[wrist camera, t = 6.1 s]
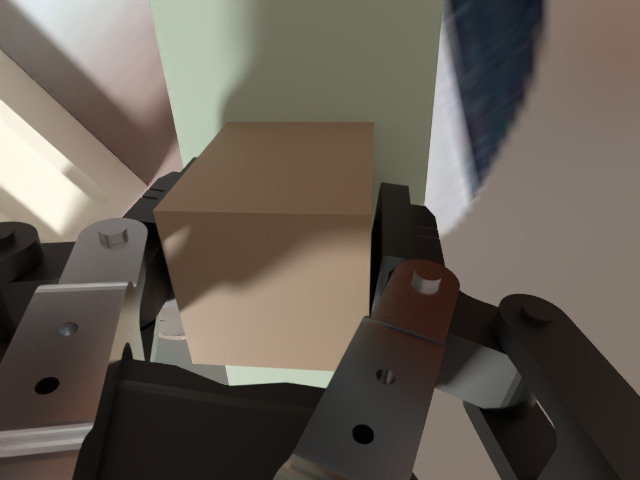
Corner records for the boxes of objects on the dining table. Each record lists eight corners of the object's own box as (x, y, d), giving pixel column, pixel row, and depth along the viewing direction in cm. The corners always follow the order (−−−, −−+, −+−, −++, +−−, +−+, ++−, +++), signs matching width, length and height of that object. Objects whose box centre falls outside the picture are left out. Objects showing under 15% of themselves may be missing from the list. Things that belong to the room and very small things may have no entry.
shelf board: (144, -201, 11) (-131, -365, 5) (452, -226, 10) (554, -456, 4) (242, 352, 20) (187, 517, 15) (403, 361, 20) (414, 538, 14)
